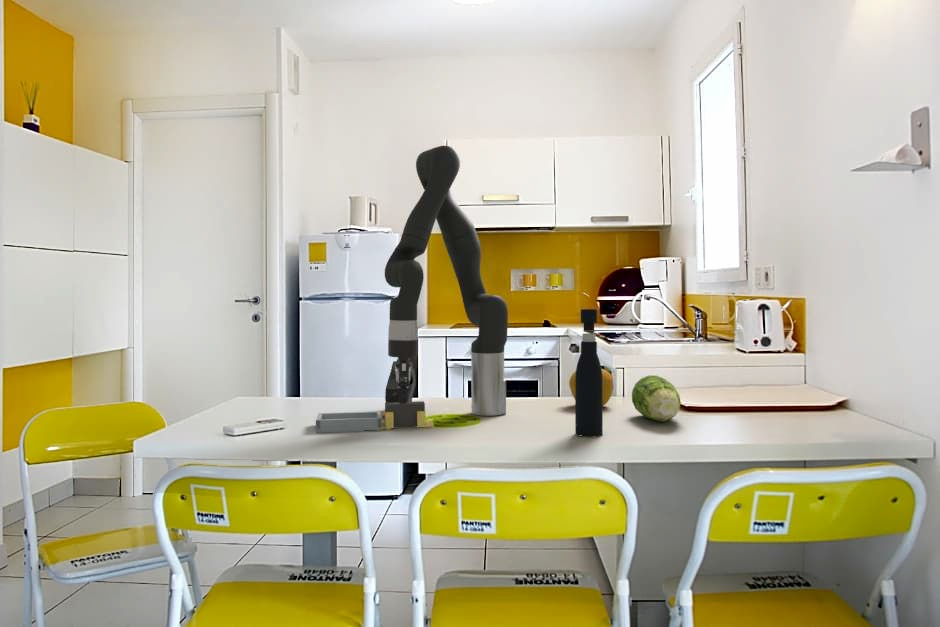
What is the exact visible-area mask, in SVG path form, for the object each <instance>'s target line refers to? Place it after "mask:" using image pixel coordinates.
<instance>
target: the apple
mask: <svg viewBox="0 0 940 627" xmlns="http://www.w3.org/2000/svg"><path fill="white" fill-rule="evenodd" d="M601 369H602V375H603V406H605V405H606V404H607V403H608V402H609V401H610V399H611V398H612V395H613V390H614V378H613V376H612V374H611V373H610V372H608V371H607V370H606V369H604V368H601ZM575 374H576V370H575V371H574V372H573V373H572V374H571V376H570V378H569V381H568V383H569V389H570V392H571V394H572V397H573V399H574V400H575Z"/></svg>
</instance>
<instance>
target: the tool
mask: <svg viewBox="0 0 940 627" xmlns="http://www.w3.org/2000/svg"><path fill="white" fill-rule="evenodd" d="M395 363H397V360H394V361H392V363H391V364H392V365H391V369H390V372H389V374H388V378H387V379H388V380H387V382H386V387H385V392H384V393H385V394H384V396H385V397H384V399H385V402H399V399H398V384H397V380H396V371H395ZM408 363H410V364H411V371H410V381H409V387H408V402H413V397H414V393H415V388H416V382H417V380H416V371H415V369H414V365H413V361H410V360H408Z"/></svg>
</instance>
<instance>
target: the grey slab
mask: <svg viewBox="0 0 940 627" xmlns="http://www.w3.org/2000/svg"><path fill="white" fill-rule="evenodd" d="M417 411H425V412H426V404H425V401H421V400H420V401H419V400H418V401H412V402H407V404H400V403H399V402H386V401H385V402H384V411H382V412H381V417H382V419H385V412H393V417H394V428H414V427H415V426H417ZM415 428H416V427H415Z"/></svg>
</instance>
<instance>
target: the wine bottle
mask: <svg viewBox="0 0 940 627" xmlns="http://www.w3.org/2000/svg"><path fill="white" fill-rule="evenodd" d="M580 323H581V324H583V330H582V332H584V333H582V335H581V337H582V338H581V340H582V341H580V355H579V358H578V361H577V364H576V369H575V371H576V374H575V399H574V401H575V402H574V405H575V408H574V409H575V412H574V413H575V414H574V415H575V416H574V418H575V430H574V431H575V433H576V434H577V435H576V434H575V435H576V436H578V435H582V436H599V435H602V436H603V428H604V427H603V424H604V422H603V416H604V415H603V411H604V410H603V407H604V405H603V375H602V369H603V368H602V365H601V362H600V358H599V356H598V343H597V341H596V340H597V339H596V337H597V336H596V333H593V332H595V324H597V323H598V309H597V308H582V309H580ZM582 436H581V437H582ZM599 437H600V436H599Z"/></svg>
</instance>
